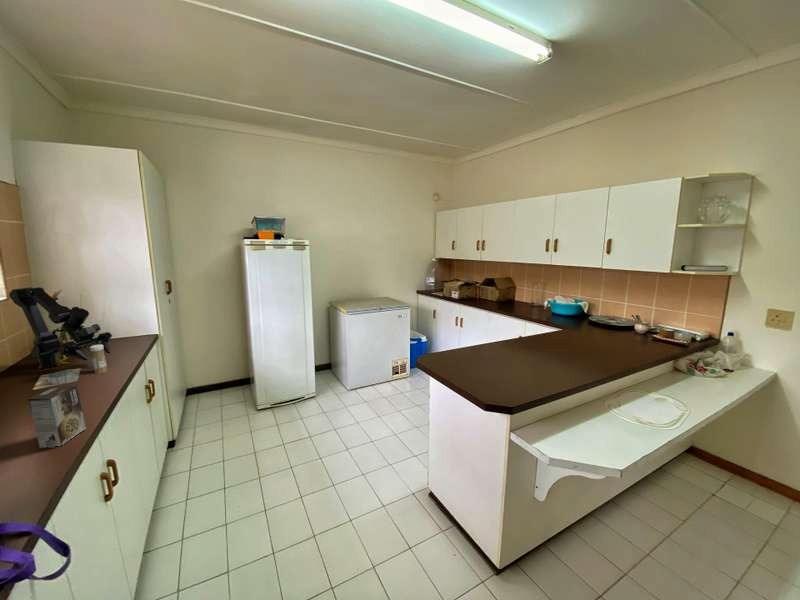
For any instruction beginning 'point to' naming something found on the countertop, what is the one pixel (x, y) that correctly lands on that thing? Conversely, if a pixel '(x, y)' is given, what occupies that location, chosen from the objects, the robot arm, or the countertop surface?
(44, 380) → the birch board
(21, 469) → the countertop surface
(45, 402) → the coffee box
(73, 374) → the steel collar
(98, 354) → the sprinkles bottle
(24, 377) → the countertop surface
